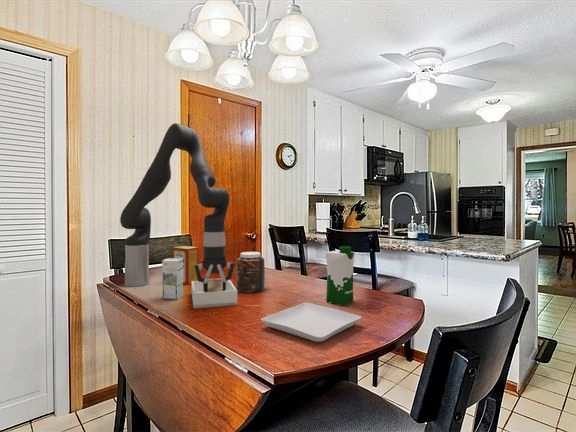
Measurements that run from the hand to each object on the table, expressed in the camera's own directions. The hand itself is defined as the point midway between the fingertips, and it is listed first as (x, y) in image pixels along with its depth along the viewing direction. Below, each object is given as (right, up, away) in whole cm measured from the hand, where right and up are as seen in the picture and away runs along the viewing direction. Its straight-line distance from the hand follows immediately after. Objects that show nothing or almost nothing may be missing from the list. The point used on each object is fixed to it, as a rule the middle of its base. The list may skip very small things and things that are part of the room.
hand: (214, 292), depth 122 cm
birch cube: (0, -1, 0) cm, 1 cm away
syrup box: (-17, -4, +7) cm, 19 cm away
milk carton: (+44, -4, +2) cm, 45 cm away
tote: (-2, -4, +5) cm, 6 cm away
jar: (+11, -3, +20) cm, 23 cm away
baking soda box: (-20, -3, +32) cm, 38 cm away
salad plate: (+33, -5, -24) cm, 41 cm away
